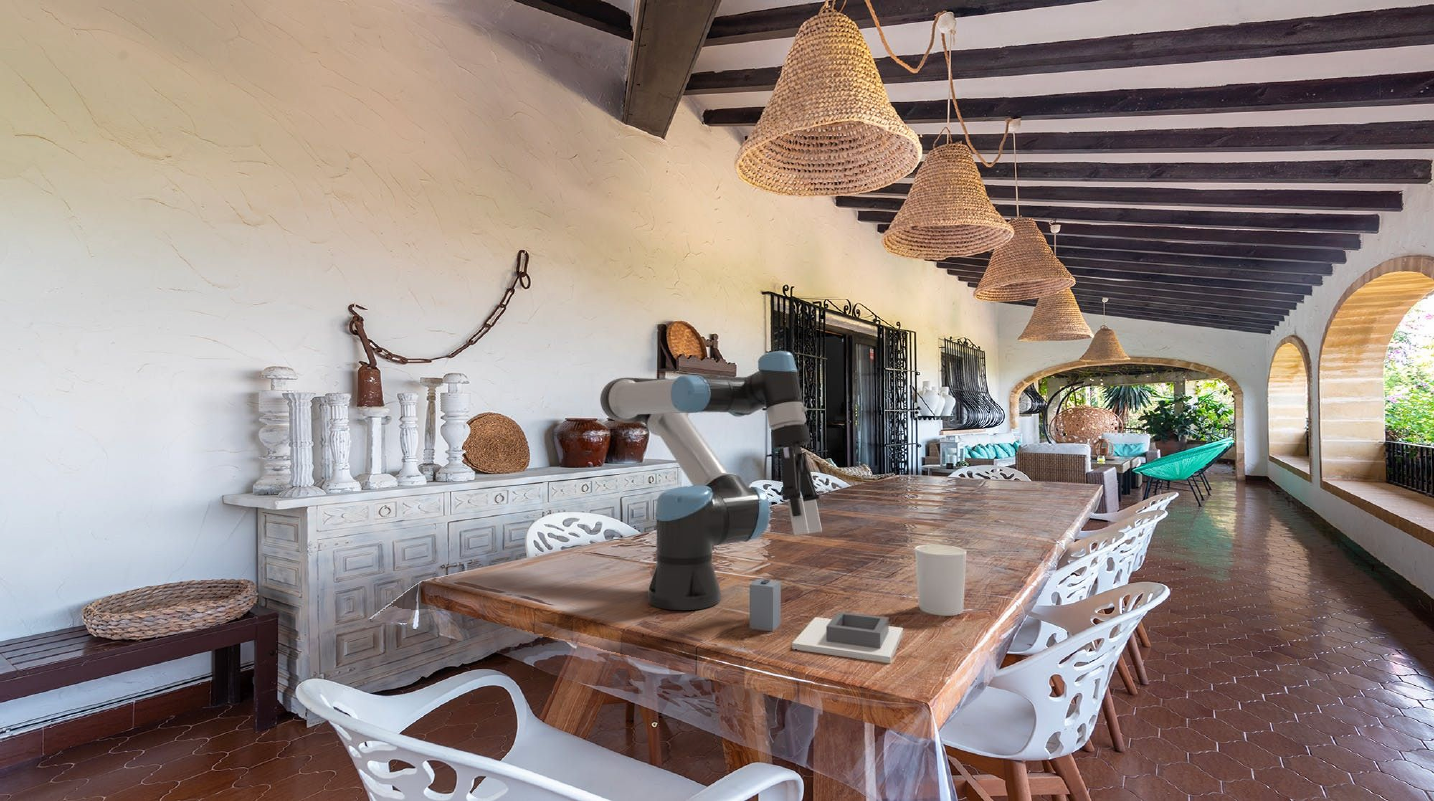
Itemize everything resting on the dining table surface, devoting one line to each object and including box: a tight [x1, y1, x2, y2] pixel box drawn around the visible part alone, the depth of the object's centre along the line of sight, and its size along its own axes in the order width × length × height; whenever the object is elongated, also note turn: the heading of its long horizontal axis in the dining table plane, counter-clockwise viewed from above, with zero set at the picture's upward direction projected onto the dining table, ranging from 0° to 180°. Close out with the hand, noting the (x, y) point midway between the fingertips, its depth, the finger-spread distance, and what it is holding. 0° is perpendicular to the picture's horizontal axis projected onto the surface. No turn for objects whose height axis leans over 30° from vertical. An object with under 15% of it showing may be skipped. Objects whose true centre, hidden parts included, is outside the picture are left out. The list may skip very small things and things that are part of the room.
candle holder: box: [914, 544, 968, 617], centre depth 132 cm, size 10×10×12 cm
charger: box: [749, 578, 782, 632], centre depth 122 cm, size 4×4×8 cm
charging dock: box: [791, 611, 904, 664], centre depth 114 cm, size 16×15×4 cm
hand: (808, 533), depth 128 cm, fingers open, 13 cm apart
